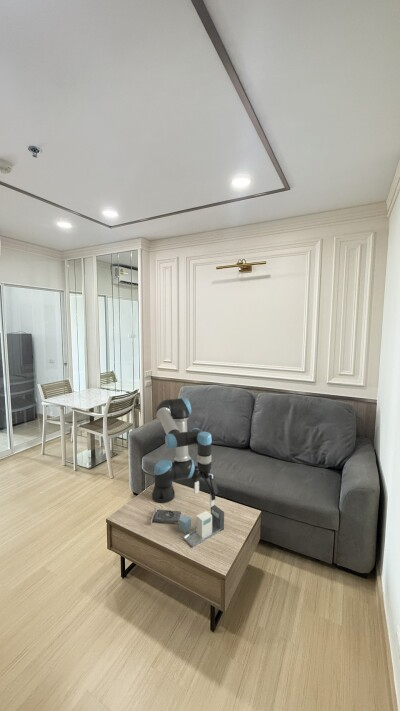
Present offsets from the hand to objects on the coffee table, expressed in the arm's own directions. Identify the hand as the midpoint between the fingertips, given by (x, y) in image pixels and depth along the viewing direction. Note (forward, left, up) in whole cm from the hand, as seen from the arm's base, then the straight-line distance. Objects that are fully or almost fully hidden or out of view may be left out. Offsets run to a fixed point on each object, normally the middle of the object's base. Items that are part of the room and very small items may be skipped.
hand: (204, 498), depth 156 cm
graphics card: (-23, -11, -21) cm, 33 cm away
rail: (0, 0, -21) cm, 21 cm away
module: (0, 0, -20) cm, 20 cm away
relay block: (-10, -6, -21) cm, 24 cm away
